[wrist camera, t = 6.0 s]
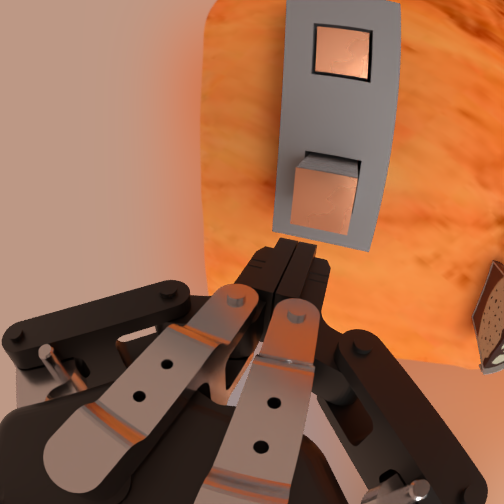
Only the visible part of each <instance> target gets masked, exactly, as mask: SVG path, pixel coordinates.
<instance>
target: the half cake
mask: <svg viewBox="0 0 504 504" xmlns="http://www.w3.org/2000/svg"><path fill="white" fill-rule="evenodd" d="M472 321H473V325H474V329H475V334H476V338H477V343H478V348H479V354H480V359H481V364H479V367H480V370H481V372H483V374H484V375H485V374H491V373H495V372H498V371H501V370H503V369H504V265H503V264H502V263H500V262H498V261H494V260H493V261H492V264H491V267H490V270H489V273H488V276H487V279H486V282H485V285H484V287H483V290H482V293H481V295H480V298H479V300H478V303H477V305H476V307H475V310H474V312H473V314H472Z"/></svg>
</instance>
